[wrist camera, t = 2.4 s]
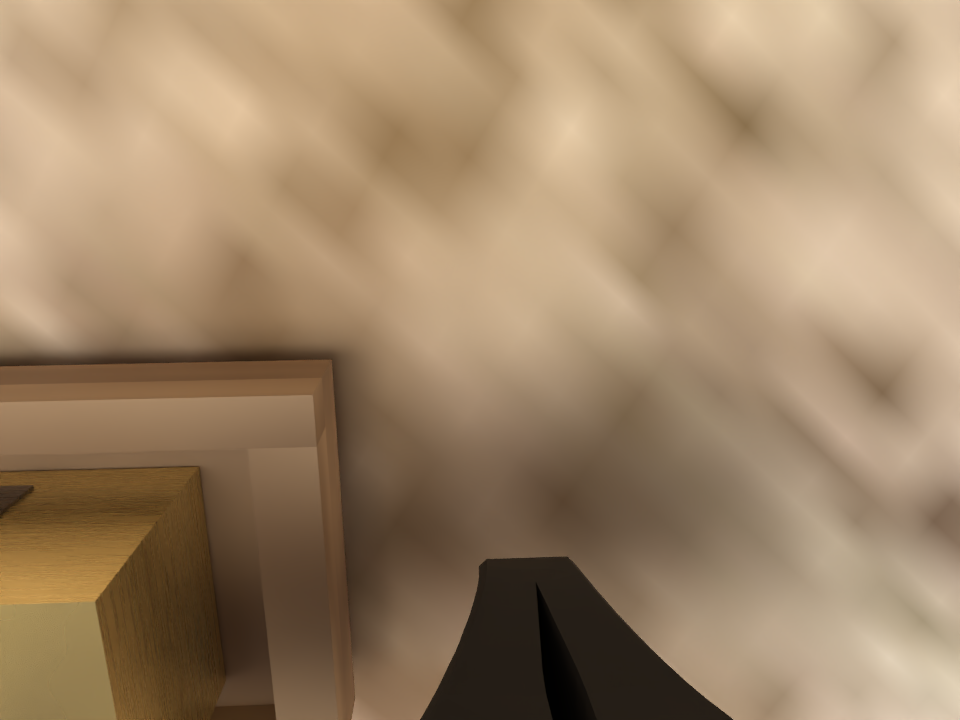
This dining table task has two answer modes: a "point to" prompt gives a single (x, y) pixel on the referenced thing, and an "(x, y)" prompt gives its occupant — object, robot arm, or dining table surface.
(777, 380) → the dining table surface
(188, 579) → the yellow block
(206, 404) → the brown rectangular tray
